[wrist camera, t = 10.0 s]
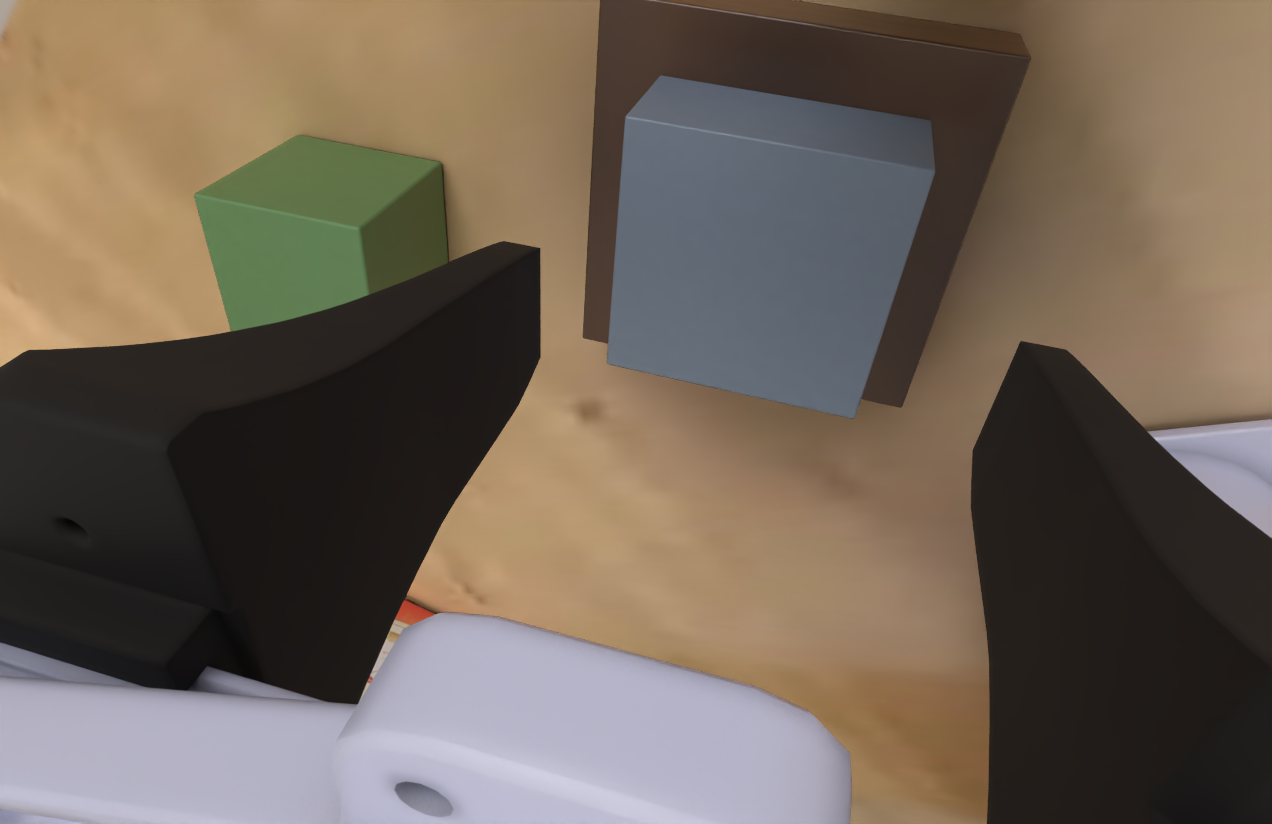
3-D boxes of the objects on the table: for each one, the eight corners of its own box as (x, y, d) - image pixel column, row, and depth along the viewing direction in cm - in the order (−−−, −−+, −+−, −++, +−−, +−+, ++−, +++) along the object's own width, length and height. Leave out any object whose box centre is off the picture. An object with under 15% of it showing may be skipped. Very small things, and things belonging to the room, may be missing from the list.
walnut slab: (1021, 33, 18) (1032, 56, 16) (902, 368, 23) (901, 409, 22) (624, -26, 19) (599, -10, 17) (602, 304, 25) (581, 339, 23)
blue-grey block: (931, 120, 17) (936, 170, 15) (859, 351, 21) (854, 420, 19) (660, 74, 18) (624, 115, 16) (637, 304, 22) (605, 364, 20)
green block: (442, 161, 23) (359, 228, 20) (452, 300, 26) (380, 380, 22) (296, 133, 24) (191, 193, 20) (321, 272, 27) (233, 345, 23)
